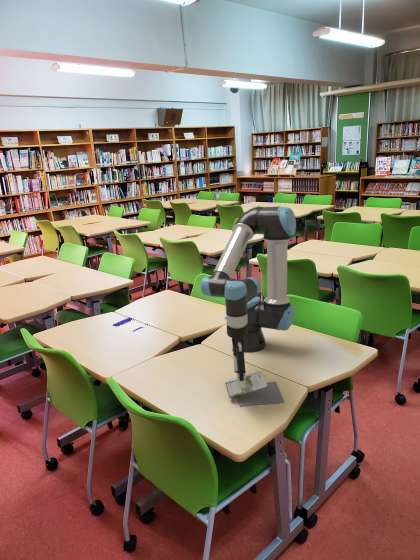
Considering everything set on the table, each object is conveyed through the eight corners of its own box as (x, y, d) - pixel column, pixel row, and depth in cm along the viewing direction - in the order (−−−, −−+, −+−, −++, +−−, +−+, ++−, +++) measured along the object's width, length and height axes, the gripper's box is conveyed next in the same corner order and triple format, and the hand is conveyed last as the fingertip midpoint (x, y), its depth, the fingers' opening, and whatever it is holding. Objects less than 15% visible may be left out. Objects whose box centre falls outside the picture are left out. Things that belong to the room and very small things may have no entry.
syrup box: (231, 395, 159) (267, 384, 157) (229, 398, 153) (267, 386, 151) (226, 380, 160) (263, 369, 158) (224, 382, 154) (262, 371, 152)
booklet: (143, 335, 218) (143, 334, 218) (112, 325, 233) (112, 324, 233) (160, 327, 227) (160, 325, 227) (129, 318, 242) (129, 317, 242)
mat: (235, 386, 165) (235, 385, 164) (275, 382, 165) (275, 381, 165) (240, 406, 151) (240, 405, 151) (284, 402, 152) (284, 401, 152)
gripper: (223, 313, 160) (226, 365, 167) (230, 338, 138) (233, 397, 145) (243, 312, 161) (245, 363, 167) (252, 337, 139) (254, 395, 145)
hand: (239, 379), depth 156 cm, fingers open, 10 cm apart
